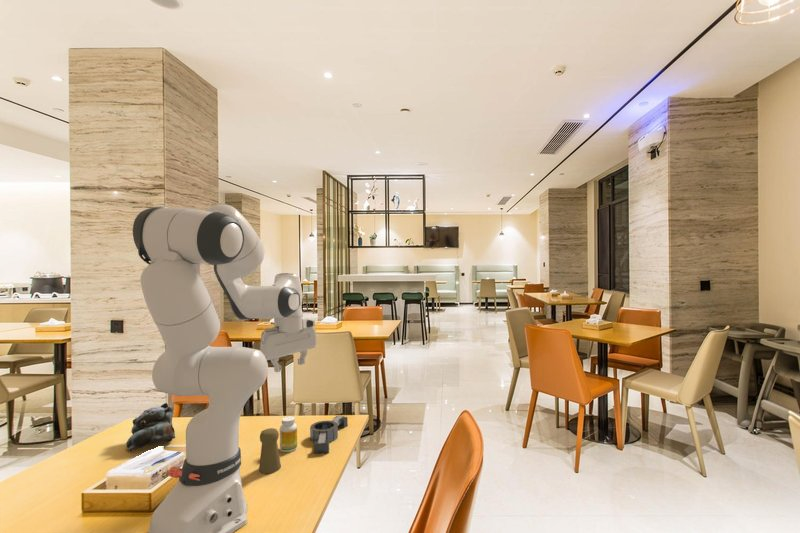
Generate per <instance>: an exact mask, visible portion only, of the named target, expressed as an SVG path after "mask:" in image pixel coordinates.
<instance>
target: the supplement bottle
mask: <svg viewBox="0 0 800 533" xmlns="http://www.w3.org/2000/svg"><path fill="white" fill-rule="evenodd" d="M295 422H296V418H295V417H294V416H290V415H289V416H284V417H283V418H281V425H280V427H279V449H280V452H283V453H290V452H293V451H296V450H297V448H298V425H297V424H296V423H295Z"/></svg>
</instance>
